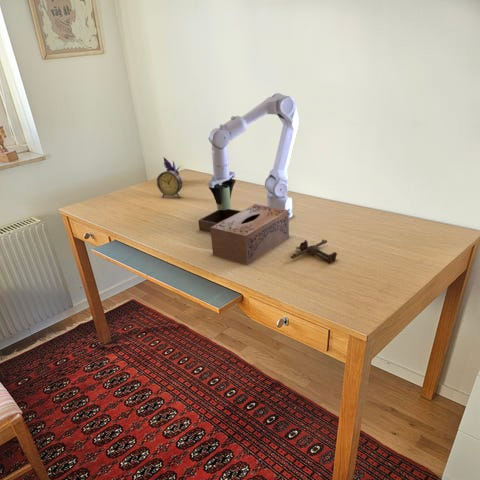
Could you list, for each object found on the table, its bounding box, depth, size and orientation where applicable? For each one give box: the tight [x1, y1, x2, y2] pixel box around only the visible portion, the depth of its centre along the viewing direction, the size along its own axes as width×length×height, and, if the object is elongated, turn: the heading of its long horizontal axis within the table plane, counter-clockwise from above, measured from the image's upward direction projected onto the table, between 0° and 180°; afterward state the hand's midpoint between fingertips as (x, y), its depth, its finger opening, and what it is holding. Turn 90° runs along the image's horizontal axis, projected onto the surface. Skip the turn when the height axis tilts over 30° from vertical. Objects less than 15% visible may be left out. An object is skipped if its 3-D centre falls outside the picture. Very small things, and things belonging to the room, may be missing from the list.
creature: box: [156, 157, 181, 180], centre depth 222 cm, size 9×18×12 cm, turn 140°
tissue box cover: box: [210, 203, 290, 266], centre depth 153 cm, size 26×14×10 cm, turn 144°
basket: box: [197, 208, 242, 234], centre depth 170 cm, size 14×15×4 cm
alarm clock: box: [156, 160, 183, 198], centre depth 202 cm, size 11×5×16 cm, turn 73°
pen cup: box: [216, 184, 232, 210], centre depth 166 cm, size 5×5×8 cm
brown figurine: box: [290, 238, 338, 264], centre depth 145 cm, size 18×4×14 cm
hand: (223, 201), depth 167 cm, fingers closed on pen cup, 5 cm apart
